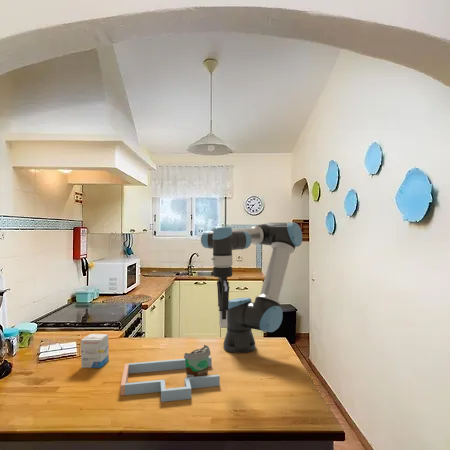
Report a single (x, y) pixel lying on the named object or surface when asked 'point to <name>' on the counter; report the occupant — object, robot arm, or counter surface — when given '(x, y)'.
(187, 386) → the channel
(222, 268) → the robot arm
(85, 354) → the ink box
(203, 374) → the food container
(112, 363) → the counter surface
